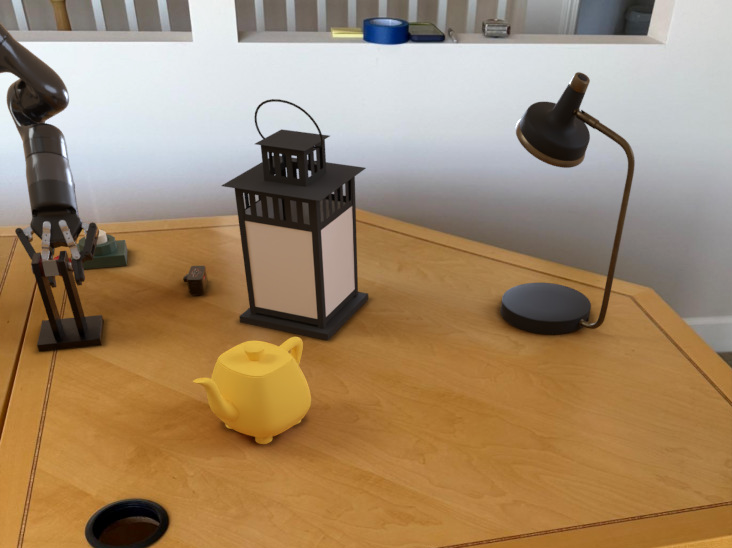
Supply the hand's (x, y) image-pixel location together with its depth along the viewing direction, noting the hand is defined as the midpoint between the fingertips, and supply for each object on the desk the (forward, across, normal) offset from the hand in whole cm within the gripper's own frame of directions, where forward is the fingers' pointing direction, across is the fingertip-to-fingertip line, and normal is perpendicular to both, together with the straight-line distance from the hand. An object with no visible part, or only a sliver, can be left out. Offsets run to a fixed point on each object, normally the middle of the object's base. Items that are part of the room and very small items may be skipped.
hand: (66, 284), depth 134 cm
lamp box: (-13, +4, +22) cm, 26 cm away
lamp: (+18, +83, -8) cm, 86 cm away
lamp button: (-16, +4, +19) cm, 25 cm away
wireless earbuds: (-1, +21, +10) cm, 24 cm away
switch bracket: (+9, 0, -1) cm, 9 cm away
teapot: (+34, +28, -25) cm, 50 cm away
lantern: (+9, +40, 0) cm, 41 cm away
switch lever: (0, 0, -4) cm, 4 cm away
